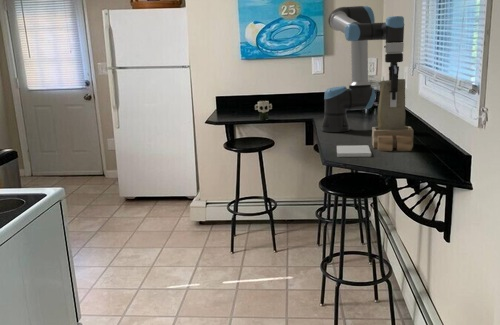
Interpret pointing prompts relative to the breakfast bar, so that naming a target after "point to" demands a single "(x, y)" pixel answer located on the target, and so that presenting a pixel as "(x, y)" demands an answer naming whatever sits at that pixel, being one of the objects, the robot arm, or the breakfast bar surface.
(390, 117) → the stone slab
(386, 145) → the offcut block
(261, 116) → the big eared figurine
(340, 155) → the felt pad
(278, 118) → the breakfast bar surface
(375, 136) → the rack
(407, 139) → the offcut block
